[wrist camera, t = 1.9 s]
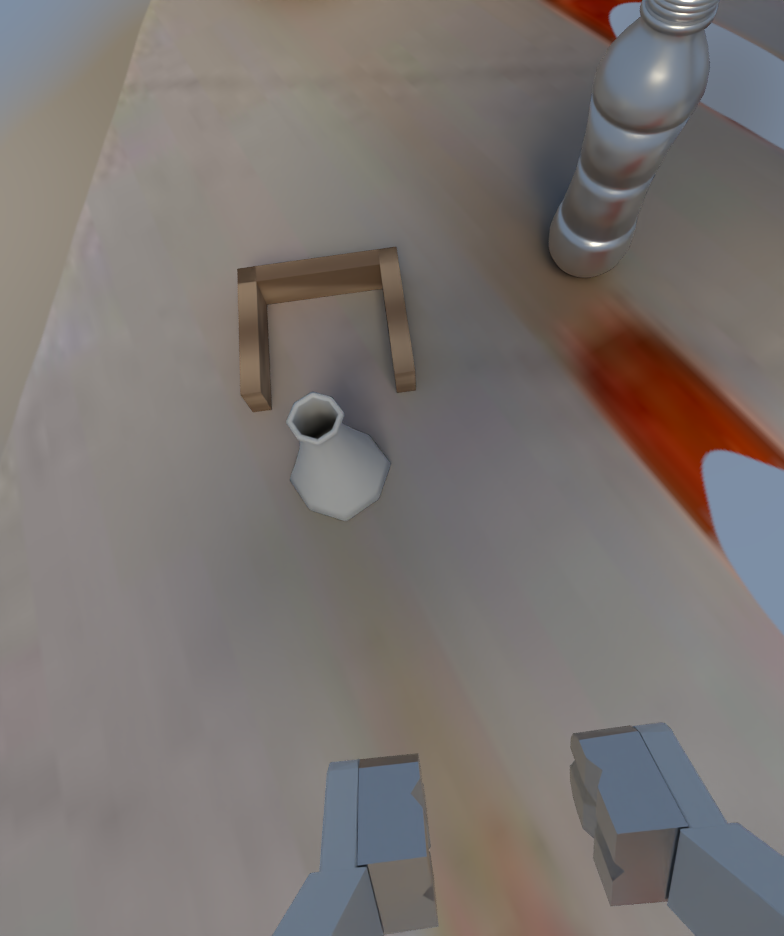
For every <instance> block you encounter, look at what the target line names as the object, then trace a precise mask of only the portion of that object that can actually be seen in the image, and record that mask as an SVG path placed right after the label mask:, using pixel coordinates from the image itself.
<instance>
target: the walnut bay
mask: <svg viewBox="0 0 784 936" xmlns="http://www.w3.org/2000/svg"><path fill="white" fill-rule="evenodd" d="M237 272H238V312H239V352H240V392H241V396H242V397H243V399H244V400H245V402H246V403H247V404H248V406H249V407H250V409H251V410H252V411H253V412H258V411H265V410H272V406H271V384H270V363H269V342H268V320H267V304H275V303H282V302H289V301H296V300H304V299H311V298H318V297H325V296H333V295H340V294H347V293H354V292H362V291H369V290H376V289H383V294H384V301H385V309H386V316H387V323H388V331H389V338H390V345H391V353H392V360H393V367H394V375H395V382H396V389H397V393H399V392H406V391H414V390H416V382H415V367H414V361H413V354H412V347H411V341H410V334H409V328H408V321H407V314H406V308H405V301H404V295H403V288H402V281H401V275H400V268H399V262H398V255H397V248H396V247H390V248H383V249H376V250H369V251H362V252H355V253H347V254H340V255H333V256H326V257H319V258H311V259H304V260H297V261H290V262H283V263H276V264H268V265H261V266H254V267H247V268H240V269H237Z"/></svg>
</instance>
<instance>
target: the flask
mask: <svg viewBox="0 0 784 936" xmlns="http://www.w3.org/2000/svg"><path fill="white" fill-rule="evenodd" d="M344 415H345V414H344V412H343V411H342V410H341V408H340V407H339V406H338V404H337V403H336V402H335V400H334V399H333V397H330V396H327V395H323V394H319V393H316V392H311V393H309V394H307V395H306V396H304V397H303V398H301V399H300V400H298V401H296V402H295V403H294V404H293V407H292V409H291V411H290V414H289V416H288V418H287V421H286V423H287V425H288V426H289V428H290V429H291V430H292V432H293V433H294V435H295V436H296V438H297V439H298V440H299V441H300V449H299V452H298V456H297V460H296V463H295V466H294V469H293V471H292V474H291V477H290V481H291V483H292V484H293V486H294V487H295V489H296V490H297V492H298V493H299V495H300V496H301V498H302V499H303V501H304V502H305V504H306V505H307V507H308V508H309V510H311V511H314V512H317V513H321V514H324V515H327V516H330V517H334V518H337V519H340V520H343V521H348V520H349V519H351V518H352V517H354V516H355V515H356V514H358V513H359V512H361V511H362V510H364V509H365V508H367V507H368V506H370V505H371V504H372V503H374V502H375V501H377V500H378V499H379V497H380V494H381V491H382V489H383V486H384V483H385V480H386V477H387V474H388V471H389V468H390V465H391V463H390V462H389V461H388V459H387V458H386V457H385V455H384V454H383V453H382V451H381V450H380V449H379V447H378V446H377V445H376V443H375V442H374V441H373V439H372V438H371V437H370V435H367V434H365V433H363V432H360V431H357V430H355V429H353V428H350V427H348V426H346V425H344V424H342V421H343V418H344Z"/></svg>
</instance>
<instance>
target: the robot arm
mask: <svg viewBox="0 0 784 936" xmlns="http://www.w3.org/2000/svg"><path fill="white" fill-rule="evenodd" d="M570 748H571V751H572V754H573V756H574V759H575V761H574V762H573V763H572V764H571V765H570V782H571V788H572V794H573V799H574V803H575V806H576V810H577V813H578V816H579V819H580V822H581V825H582V828H583V829H584V830H585V831H586V832H587V833H588V834H589V835H591V836H592V837H593V838H594V853H593V859H594V862H595V865H596V867H597V870H598V873H599V876H600V879H601V881H602V884H603V887H604V890H605V892H606V895H607V898H608V901H609V904H610V906H622V905H634V904H646V903H658V902H668V903H667V906H668V907H669V908H670V909H671V910H672V911H673V912H674V913H675V914H676V915H677V916H678V917H679V918H680V919H681V921H682V922H683V923H684V924H685V925H686V926H687V927H688V928H689V929H690V930H691V931H692V932H693V933H694V934H695V936H784V857H783V856H782V855H781V854H779V853H778V852H777V851H775V850H774V849H773V848H771V847H770V846H769V845H767V844H766V843H765V842H763V841H762V840H761V839H759V838H758V837H757V836H755V835H754V834H753V833H751V832H750V831H749V830H747V829H746V828H744V827H743V826H742V825H740V824H739V823H727V821H726V820H725V818H724V816H723V815H722V813H721V811H720V810H719V808H718V806H717V805H716V803H715V801H714V800H713V798H712V796H711V795H710V793H709V791H708V790H707V788H706V786H705V785H704V783H703V781H702V780H701V778H700V776H699V775H698V773H697V771H696V770H695V768H694V766H693V765H692V763H691V761H690V760H689V758H688V756H687V755H686V753H685V751H684V750H683V748H682V746H681V745H680V743H679V741H678V740H677V738H676V736H675V735H674V733H673V731H672V730H671V728H670V727H669V726H667V725H666V724H665V723H662V722H659V723H652V724H645V725H638V726H630V725H629V726H622V727H615V728H608V729H601V730H593V731H586V732H579V733H573V735H572V736H571V746H570ZM430 847H431V844H430V835H429V826H428V817H427V808H426V800H425V793H424V785H423V783H422V775H421V766H420V760H419V755H418V753H416V754H406V755H397V756H387V757H377V758H367V759H356V760H347V761H339V762H331V763H330V764H329V768H328V771H327V778H326V791H325V805H324V818H323V831H322V844H321V858H320V871H319V872H314V873H310V874H309V876H308V877H307V879H306V881H305V882H304V884H303V886H302V887H301V889H300V891H299V892H298V894H297V895H296V897H295V899H294V900H293V902H292V904H291V905H290V907H289V909H288V910H287V912H286V914H285V915H284V917H283V919H282V920H281V922H280V924H279V925H278V927H277V928H276V930H275V932H274V933H273V935H272V936H384V935H385V934H391V933H398V932H405V931H411V930H418V929H425V928H432V927H438V916H437V906H436V895H435V885H434V875H433V868H432V861H431V855H430V851H429V849H430Z"/></svg>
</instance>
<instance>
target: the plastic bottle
mask: <svg viewBox="0 0 784 936" xmlns="http://www.w3.org/2000/svg"><path fill="white" fill-rule="evenodd" d="M718 2H719V0H642V3H641V6H640V14H641V17H639V18H638V19H637V20H636V21H635V22H634V23H632V24H631V25H630V26H629V27H628V28H627V29H625V30H624V32H622V33H621V34H620V36H619V37H618V38H617V39H616V40H615V41H614V42H613V43H612V44H611V45H610V47H609V48H608V49H607V51H606V53H605V55H604V56H603V58H602V60H601V61H600V63H599V65H598V68H597V70H596V75H595V79H594V83H593V89H592V96H591V102H590V109H589V115H588V121H587V128H586V132H585V136H584V140H583V144H582V148H581V154H580V156H579V160H578V164H577V168H576V171H575V173H574V175H573V178H572V180H571V183H570V185H569V188H568V190H567V193H566V195H565V197H564V199H563V200H562V202H561V204H560V205H559V207H558V209H557V211H556V213H555V216H554V218H553V220H552V223H551V225H550V232H549V251H550V254H551V256H552V258H553V259H554V261H555V263H556V264H557V265H558V266H559V267H560V269H562V270H563V271H564V272H566V273H568V274H570V275H572V276H576V277H582V278H587V277H594V276H598V275H601V274H603V273H605V272H608V271H609V270H611V269H612V268H614V266H615V265H616V264H617V263H618V262H619V261H620V260H621V258H622V257H623V256H624V254H625V253H626V252H627V250H628V248H629V247H630V244H631V241H632V238H633V234H634V231H635V228H636V223H637V217H638V214H639V211H640V209H641V206H642V203H643V201H644V198H645V195H646V192H647V190H648V187H649V185H650V183H651V181H652V179H653V178H654V176H655V173H656V171H657V170H658V168H659V167H660V165H661V163H662V161H663V159H664V157H665V155H666V153H667V152H668V150H669V148H670V147H671V145H672V144H673V142H674V141H675V139H676V138H677V136H678V134H679V133H680V131H681V130H682V128H683V127H684V125H685V124H686V122H687V121H688V119H689V118H690V116H691V115H692V113H693V112H694V110H695V109H696V107H697V105H698V103H699V102H700V100H701V98H702V96H703V95H704V92H705V89H706V85H707V79H708V75H709V68H710V61H709V52H708V44H707V40H706V35H705V31H704V29H705V28H707V27H708V26H709V25H710V23H711V22H712V20H713V18H714V16H715V14H716V12H717V9H718Z"/></svg>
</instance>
